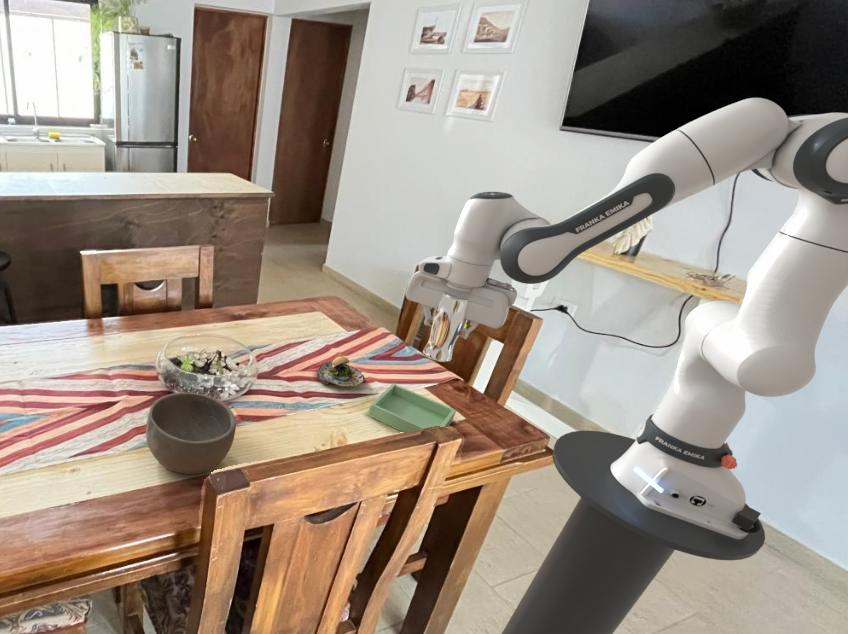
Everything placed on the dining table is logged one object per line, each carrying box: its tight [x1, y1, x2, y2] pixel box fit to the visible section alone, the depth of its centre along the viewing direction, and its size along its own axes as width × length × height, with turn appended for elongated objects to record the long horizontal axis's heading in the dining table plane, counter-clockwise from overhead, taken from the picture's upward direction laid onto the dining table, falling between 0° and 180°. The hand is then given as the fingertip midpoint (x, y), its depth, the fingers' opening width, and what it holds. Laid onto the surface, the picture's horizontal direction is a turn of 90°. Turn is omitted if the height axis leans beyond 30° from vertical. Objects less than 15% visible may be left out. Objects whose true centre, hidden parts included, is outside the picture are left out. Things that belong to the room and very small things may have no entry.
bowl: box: [145, 391, 237, 475], centre depth 100 cm, size 17×18×10 cm
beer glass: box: [422, 292, 470, 363], centre depth 112 cm, size 7×7×15 cm
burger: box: [316, 355, 366, 388], centre depth 133 cm, size 12×12×8 cm
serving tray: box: [367, 382, 457, 434], centre depth 121 cm, size 16×14×3 cm
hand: (444, 331), depth 112 cm, fingers closed on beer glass, 6 cm apart
